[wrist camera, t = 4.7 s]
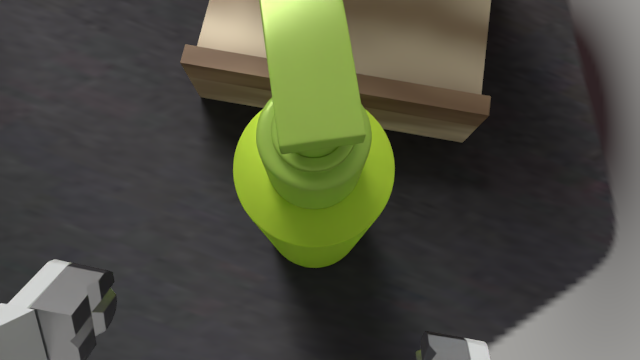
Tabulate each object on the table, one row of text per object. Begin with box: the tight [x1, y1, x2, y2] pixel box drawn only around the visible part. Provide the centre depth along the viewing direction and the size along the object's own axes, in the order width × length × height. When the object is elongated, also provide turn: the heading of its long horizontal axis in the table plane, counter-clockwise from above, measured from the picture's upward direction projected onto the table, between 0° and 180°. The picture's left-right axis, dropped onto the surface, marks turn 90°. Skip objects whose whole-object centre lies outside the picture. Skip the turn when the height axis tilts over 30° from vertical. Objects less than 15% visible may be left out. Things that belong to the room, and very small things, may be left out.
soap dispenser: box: [233, 0, 395, 268], centre depth 20 cm, size 6×7×20 cm
